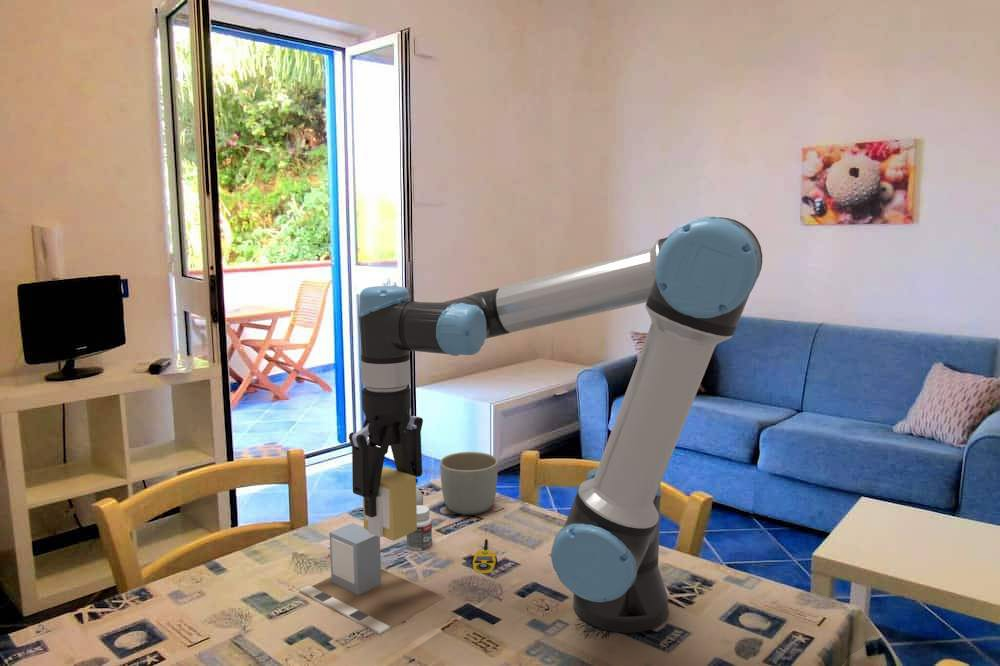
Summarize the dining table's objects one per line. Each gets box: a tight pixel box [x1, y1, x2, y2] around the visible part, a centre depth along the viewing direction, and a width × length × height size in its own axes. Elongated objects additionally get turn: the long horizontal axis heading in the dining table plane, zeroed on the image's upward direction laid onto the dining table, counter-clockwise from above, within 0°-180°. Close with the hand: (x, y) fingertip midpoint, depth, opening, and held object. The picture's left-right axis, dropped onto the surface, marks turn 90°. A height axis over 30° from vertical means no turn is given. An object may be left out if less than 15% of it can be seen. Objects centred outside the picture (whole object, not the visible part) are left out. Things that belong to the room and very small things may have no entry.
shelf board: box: [298, 568, 445, 636], centre depth 122 cm, size 20×14×2 cm
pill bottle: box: [406, 505, 433, 552], centre depth 139 cm, size 5×5×8 cm
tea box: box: [362, 466, 417, 542], centre depth 117 cm, size 5×7×9 cm
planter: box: [439, 451, 499, 516], centre depth 159 cm, size 12×12×11 cm
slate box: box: [328, 522, 382, 595], centre depth 125 cm, size 5×7×9 cm
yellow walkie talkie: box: [470, 538, 499, 574], centre depth 136 cm, size 5×2×15 cm
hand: (389, 527), depth 118 cm, fingers closed on tea box, 5 cm apart
